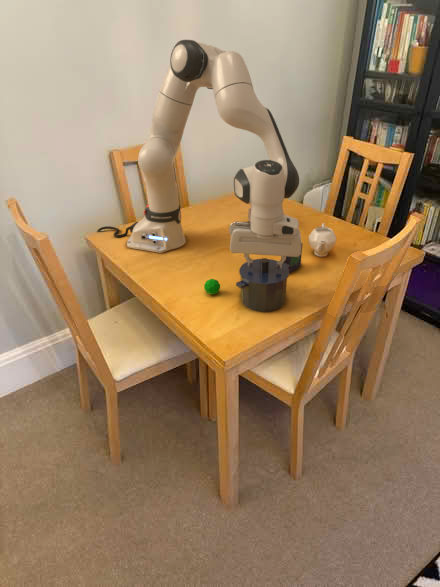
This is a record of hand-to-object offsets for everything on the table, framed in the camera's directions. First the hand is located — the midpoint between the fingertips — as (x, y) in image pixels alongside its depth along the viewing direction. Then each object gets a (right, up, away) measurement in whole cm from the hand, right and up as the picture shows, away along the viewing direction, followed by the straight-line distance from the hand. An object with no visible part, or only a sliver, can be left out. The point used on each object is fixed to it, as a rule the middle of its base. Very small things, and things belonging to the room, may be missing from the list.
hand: (264, 266), depth 122 cm
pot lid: (0, -1, +1) cm, 2 cm away
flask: (+11, 0, +21) cm, 23 cm away
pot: (0, -9, +6) cm, 11 cm away
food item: (+5, +20, +51) cm, 55 cm away
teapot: (+23, +7, +30) cm, 38 cm away
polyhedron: (-15, -8, +10) cm, 20 cm away
